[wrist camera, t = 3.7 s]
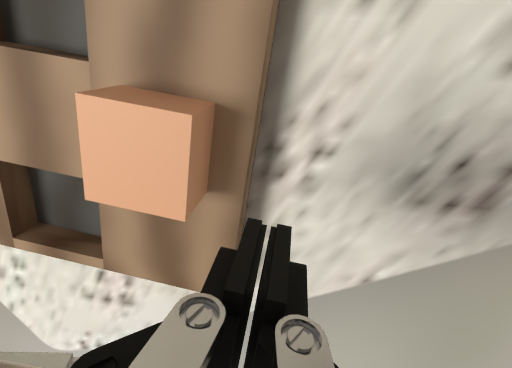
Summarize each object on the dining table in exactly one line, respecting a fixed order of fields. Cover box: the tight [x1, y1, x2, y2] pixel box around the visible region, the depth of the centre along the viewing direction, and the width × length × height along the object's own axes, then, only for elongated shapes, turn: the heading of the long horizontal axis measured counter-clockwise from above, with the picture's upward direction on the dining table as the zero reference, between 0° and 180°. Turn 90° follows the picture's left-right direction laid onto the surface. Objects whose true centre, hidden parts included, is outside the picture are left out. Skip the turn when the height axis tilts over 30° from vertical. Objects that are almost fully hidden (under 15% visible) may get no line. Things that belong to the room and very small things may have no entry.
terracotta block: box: [75, 85, 215, 222], centre depth 18 cm, size 6×6×4 cm
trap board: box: [0, 0, 280, 292], centre depth 22 cm, size 27×24×3 cm
